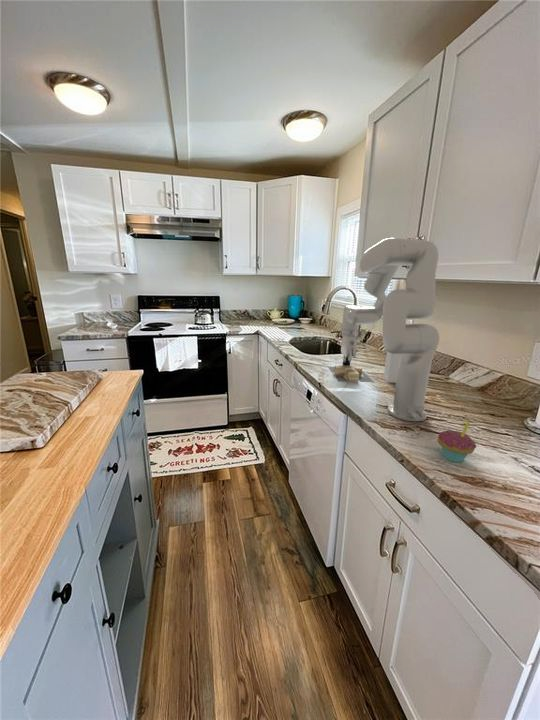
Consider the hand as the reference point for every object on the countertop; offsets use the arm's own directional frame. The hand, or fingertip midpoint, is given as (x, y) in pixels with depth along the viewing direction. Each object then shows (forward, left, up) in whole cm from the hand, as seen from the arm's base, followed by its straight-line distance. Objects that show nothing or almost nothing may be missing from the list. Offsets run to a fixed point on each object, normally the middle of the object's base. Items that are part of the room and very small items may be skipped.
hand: (345, 369), depth 144 cm
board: (-3, -1, -3) cm, 4 cm away
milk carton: (-11, -19, -3) cm, 22 cm away
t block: (-8, 0, -1) cm, 8 cm away
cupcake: (-69, -10, -3) cm, 69 cm away
